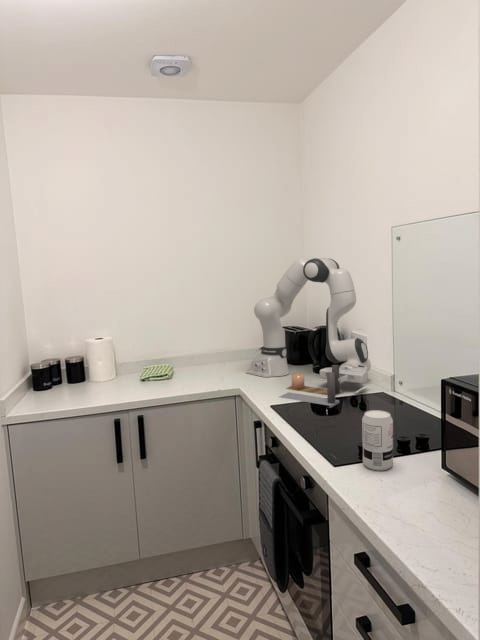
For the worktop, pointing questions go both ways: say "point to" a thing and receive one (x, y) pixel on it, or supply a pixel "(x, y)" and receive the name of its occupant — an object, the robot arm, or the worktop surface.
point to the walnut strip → (319, 390)
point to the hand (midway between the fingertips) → (334, 379)
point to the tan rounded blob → (297, 381)
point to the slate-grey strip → (318, 400)
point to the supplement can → (377, 440)
